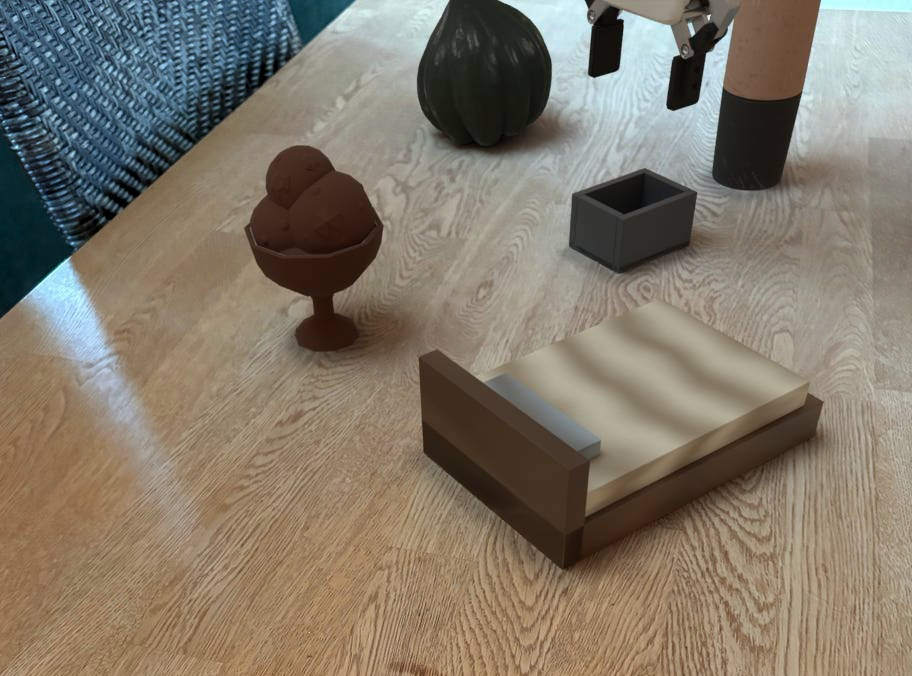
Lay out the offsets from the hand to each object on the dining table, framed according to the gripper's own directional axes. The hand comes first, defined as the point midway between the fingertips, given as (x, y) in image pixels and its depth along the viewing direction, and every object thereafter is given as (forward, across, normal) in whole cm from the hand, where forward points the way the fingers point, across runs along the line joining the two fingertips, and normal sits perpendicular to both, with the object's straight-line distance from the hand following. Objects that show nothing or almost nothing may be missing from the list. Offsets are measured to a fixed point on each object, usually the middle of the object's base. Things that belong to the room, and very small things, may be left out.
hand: (641, 89), depth 87 cm
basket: (+14, 0, 0) cm, 14 cm away
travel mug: (+14, +4, -20) cm, 25 cm away
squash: (+14, +30, -6) cm, 34 cm away
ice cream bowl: (+14, +4, +31) cm, 34 cm away
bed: (+14, -24, +22) cm, 35 cm away
